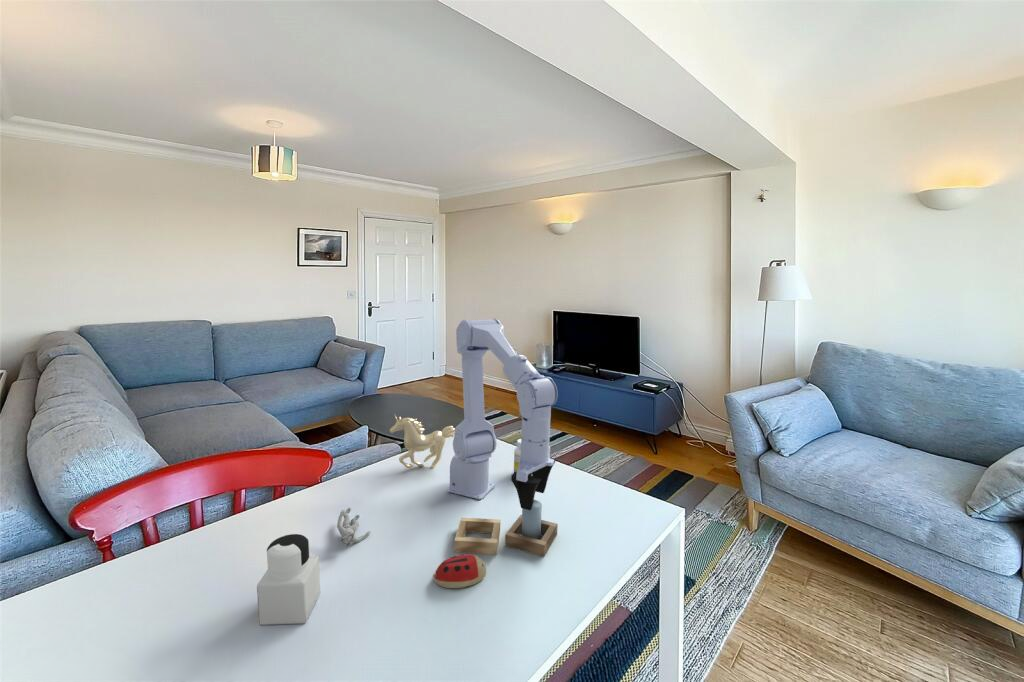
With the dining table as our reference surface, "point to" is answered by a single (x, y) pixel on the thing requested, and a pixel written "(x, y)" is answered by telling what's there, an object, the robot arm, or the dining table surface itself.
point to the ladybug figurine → (460, 571)
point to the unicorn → (421, 440)
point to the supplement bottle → (517, 455)
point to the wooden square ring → (531, 544)
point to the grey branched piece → (349, 529)
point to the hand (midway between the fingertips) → (532, 499)
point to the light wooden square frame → (477, 544)
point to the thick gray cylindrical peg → (532, 521)
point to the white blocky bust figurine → (288, 582)
